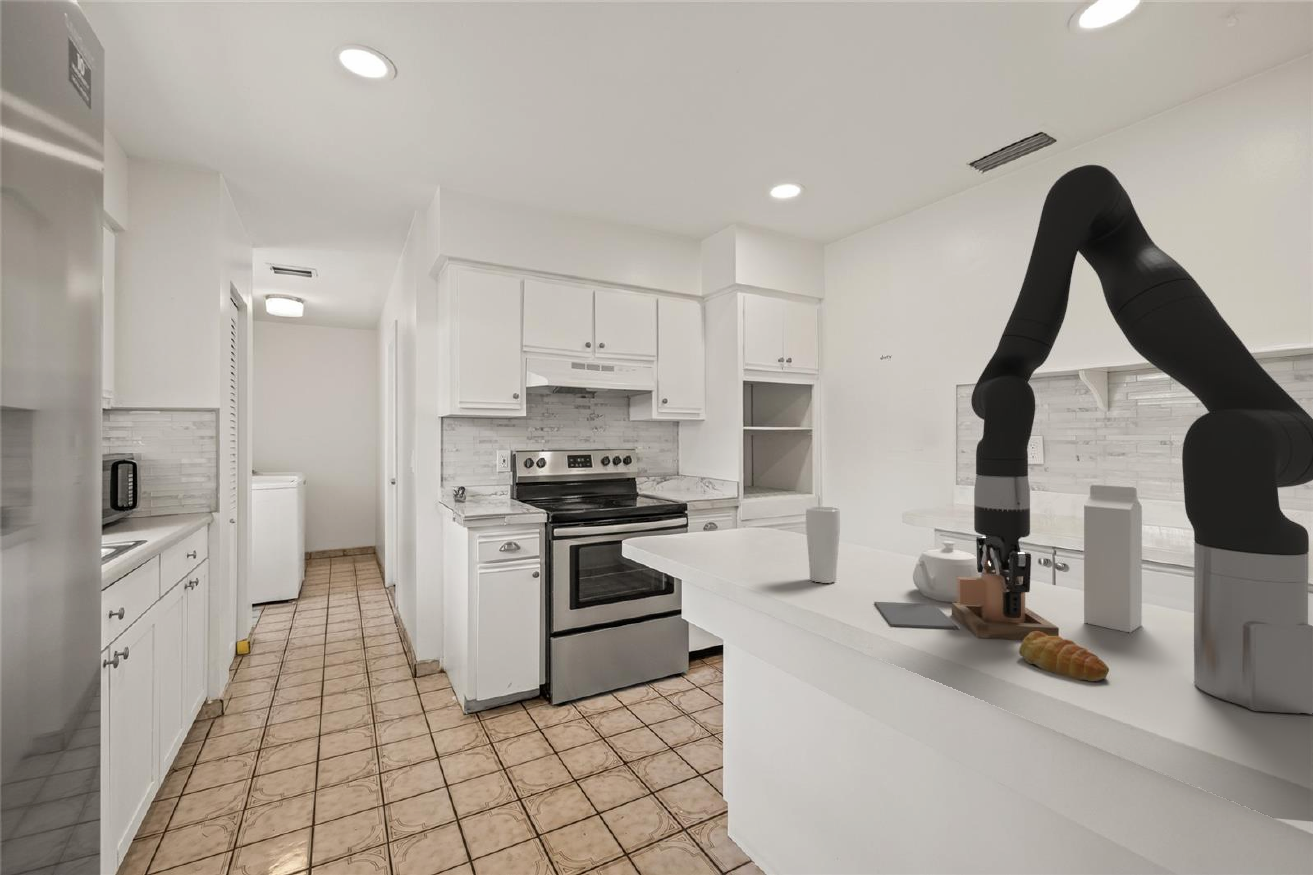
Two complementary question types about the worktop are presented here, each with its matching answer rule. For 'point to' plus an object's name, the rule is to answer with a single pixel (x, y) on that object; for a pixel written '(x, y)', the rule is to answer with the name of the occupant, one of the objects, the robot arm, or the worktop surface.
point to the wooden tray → (1001, 624)
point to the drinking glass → (823, 542)
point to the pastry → (1062, 657)
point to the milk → (1113, 558)
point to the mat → (915, 615)
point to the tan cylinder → (987, 597)
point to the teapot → (943, 571)
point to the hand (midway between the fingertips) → (1001, 609)
